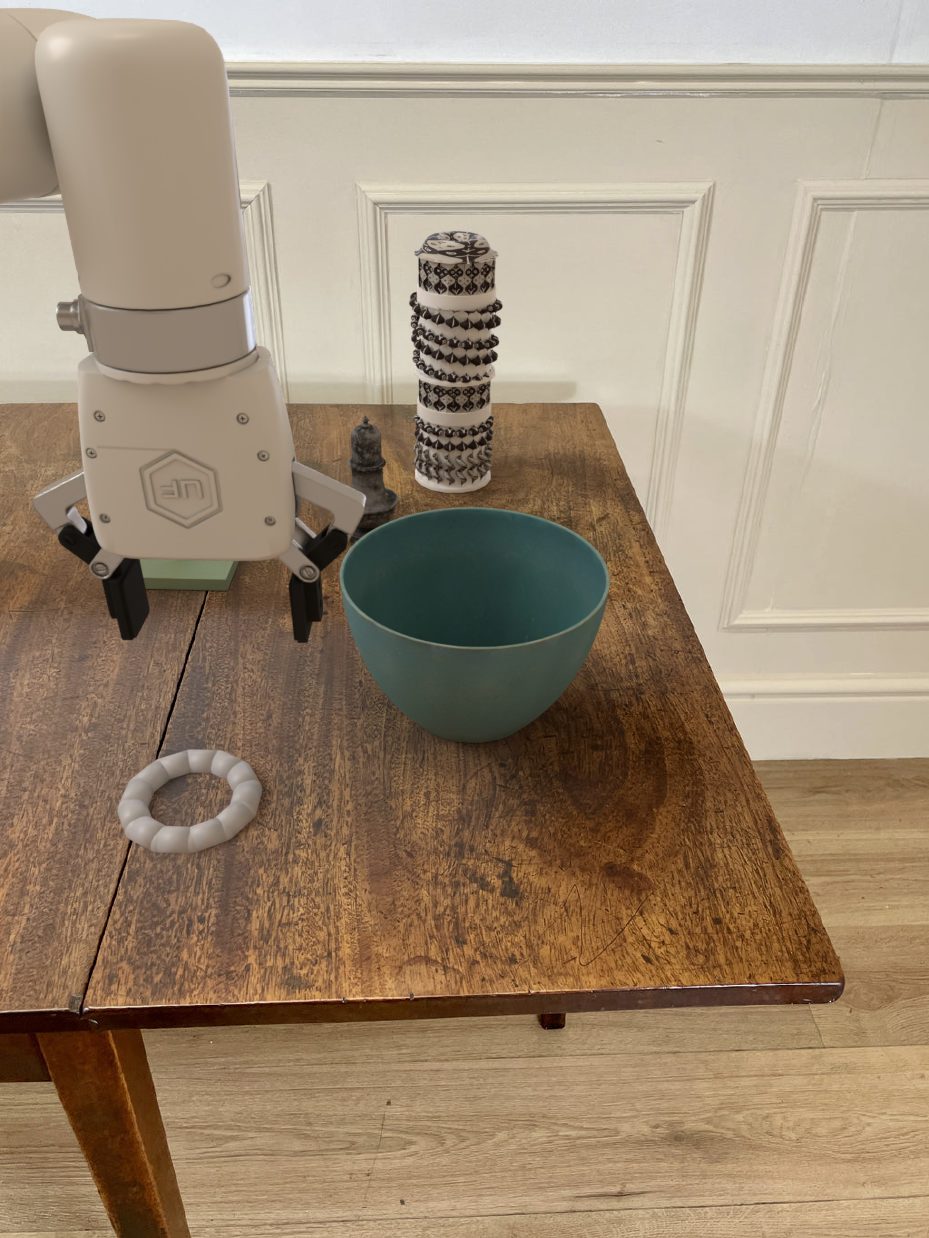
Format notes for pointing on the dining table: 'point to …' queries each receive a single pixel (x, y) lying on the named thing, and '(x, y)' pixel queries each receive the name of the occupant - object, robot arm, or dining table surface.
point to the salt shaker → (370, 478)
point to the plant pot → (473, 616)
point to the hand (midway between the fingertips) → (220, 628)
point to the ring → (201, 835)
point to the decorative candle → (454, 360)
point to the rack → (188, 574)
